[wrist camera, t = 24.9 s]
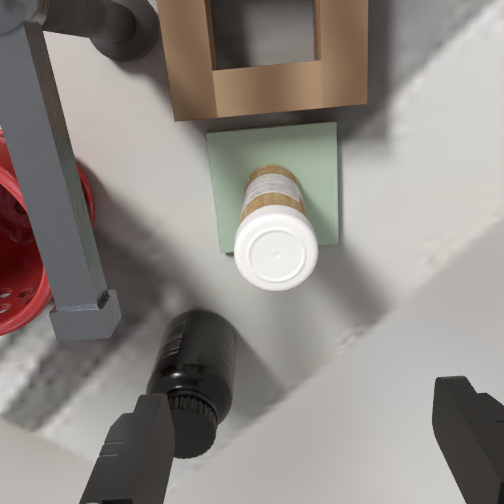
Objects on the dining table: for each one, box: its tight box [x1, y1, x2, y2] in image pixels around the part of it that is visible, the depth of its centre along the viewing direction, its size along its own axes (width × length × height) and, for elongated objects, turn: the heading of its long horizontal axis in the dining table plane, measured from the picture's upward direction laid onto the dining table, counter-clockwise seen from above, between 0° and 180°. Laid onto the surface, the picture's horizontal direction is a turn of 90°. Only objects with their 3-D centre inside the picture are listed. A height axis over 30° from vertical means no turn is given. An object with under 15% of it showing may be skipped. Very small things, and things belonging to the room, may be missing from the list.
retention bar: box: [0, 0, 122, 342], centre depth 19 cm, size 17×3×2 cm, turn 6°
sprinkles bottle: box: [234, 164, 319, 292], centre depth 30 cm, size 5×5×14 cm
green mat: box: [206, 121, 339, 253], centre depth 36 cm, size 10×10×1 cm
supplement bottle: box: [146, 310, 236, 459], centre depth 37 cm, size 7×7×12 cm
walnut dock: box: [42, 0, 368, 122], centre depth 25 cm, size 19×13×16 cm
